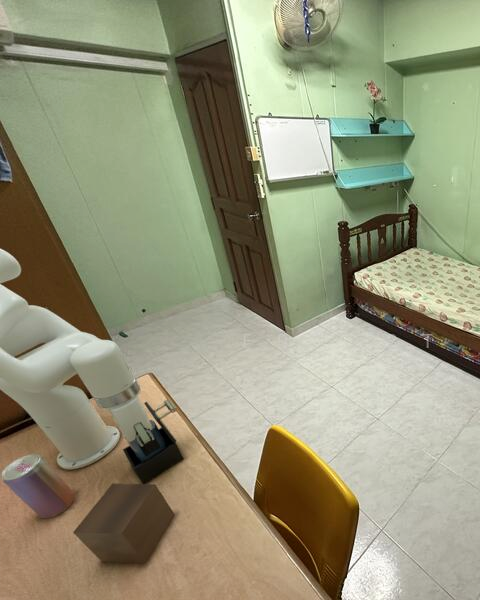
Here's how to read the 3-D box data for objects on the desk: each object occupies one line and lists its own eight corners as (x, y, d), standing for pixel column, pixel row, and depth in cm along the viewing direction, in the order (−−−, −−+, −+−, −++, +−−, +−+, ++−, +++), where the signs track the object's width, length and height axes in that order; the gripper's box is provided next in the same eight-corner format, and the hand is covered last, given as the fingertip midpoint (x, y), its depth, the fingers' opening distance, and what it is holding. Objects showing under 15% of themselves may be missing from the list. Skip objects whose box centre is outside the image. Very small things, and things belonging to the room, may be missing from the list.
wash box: (143, 485, 76) (133, 469, 73) (133, 465, 81) (122, 449, 78) (184, 458, 83) (175, 443, 79) (172, 441, 87) (163, 425, 84)
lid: (155, 420, 74) (176, 407, 76) (143, 403, 78) (163, 391, 81) (174, 443, 79) (192, 430, 82) (162, 425, 83) (180, 414, 86)
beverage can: (53, 522, 69) (13, 483, 62) (32, 516, 70) (-9, 477, 63) (82, 495, 74) (49, 456, 67) (62, 489, 75) (27, 450, 68)
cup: (133, 459, 78) (118, 435, 74) (157, 440, 83) (144, 416, 79) (150, 467, 76) (135, 444, 72) (173, 447, 81) (161, 423, 77)
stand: (102, 562, 63) (72, 532, 57) (135, 513, 71) (112, 483, 65) (146, 563, 63) (121, 533, 57) (174, 514, 71) (155, 484, 65)
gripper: (85, 383, 71) (119, 435, 80) (106, 423, 62) (142, 476, 71) (126, 366, 76) (153, 416, 85) (150, 400, 67) (178, 453, 76)
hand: (148, 443), depth 78 cm, fingers closed on cup, 6 cm apart
